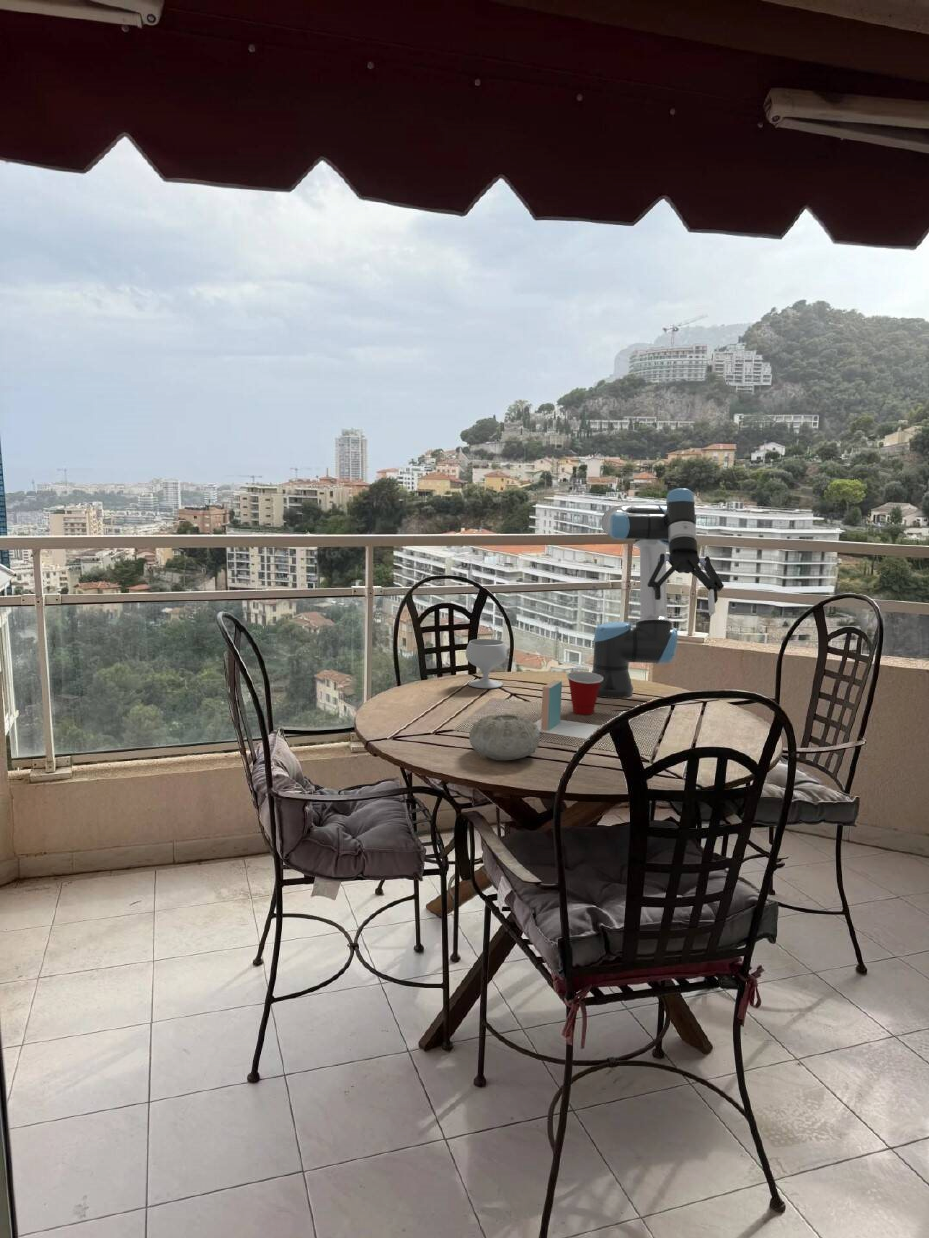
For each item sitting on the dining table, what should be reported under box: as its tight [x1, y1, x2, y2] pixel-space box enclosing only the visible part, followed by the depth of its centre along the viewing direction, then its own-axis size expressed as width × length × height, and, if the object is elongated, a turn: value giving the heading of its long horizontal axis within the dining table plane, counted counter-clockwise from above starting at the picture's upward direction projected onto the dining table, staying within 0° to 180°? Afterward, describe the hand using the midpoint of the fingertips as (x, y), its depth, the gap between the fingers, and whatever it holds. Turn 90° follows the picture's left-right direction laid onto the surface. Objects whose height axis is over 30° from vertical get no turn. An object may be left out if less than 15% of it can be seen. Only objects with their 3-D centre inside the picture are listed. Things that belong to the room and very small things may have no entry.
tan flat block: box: [541, 679, 563, 730], centre depth 229 cm, size 2×9×12 cm, turn 154°
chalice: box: [465, 638, 508, 689], centre depth 277 cm, size 14×14×15 cm
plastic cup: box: [566, 670, 603, 716], centre depth 243 cm, size 11×11×12 cm
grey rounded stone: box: [468, 712, 541, 761], centre depth 205 cm, size 18×18×10 cm
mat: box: [533, 717, 601, 740], centre depth 227 cm, size 20×14×1 cm
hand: (687, 612), depth 218 cm, fingers open, 13 cm apart
